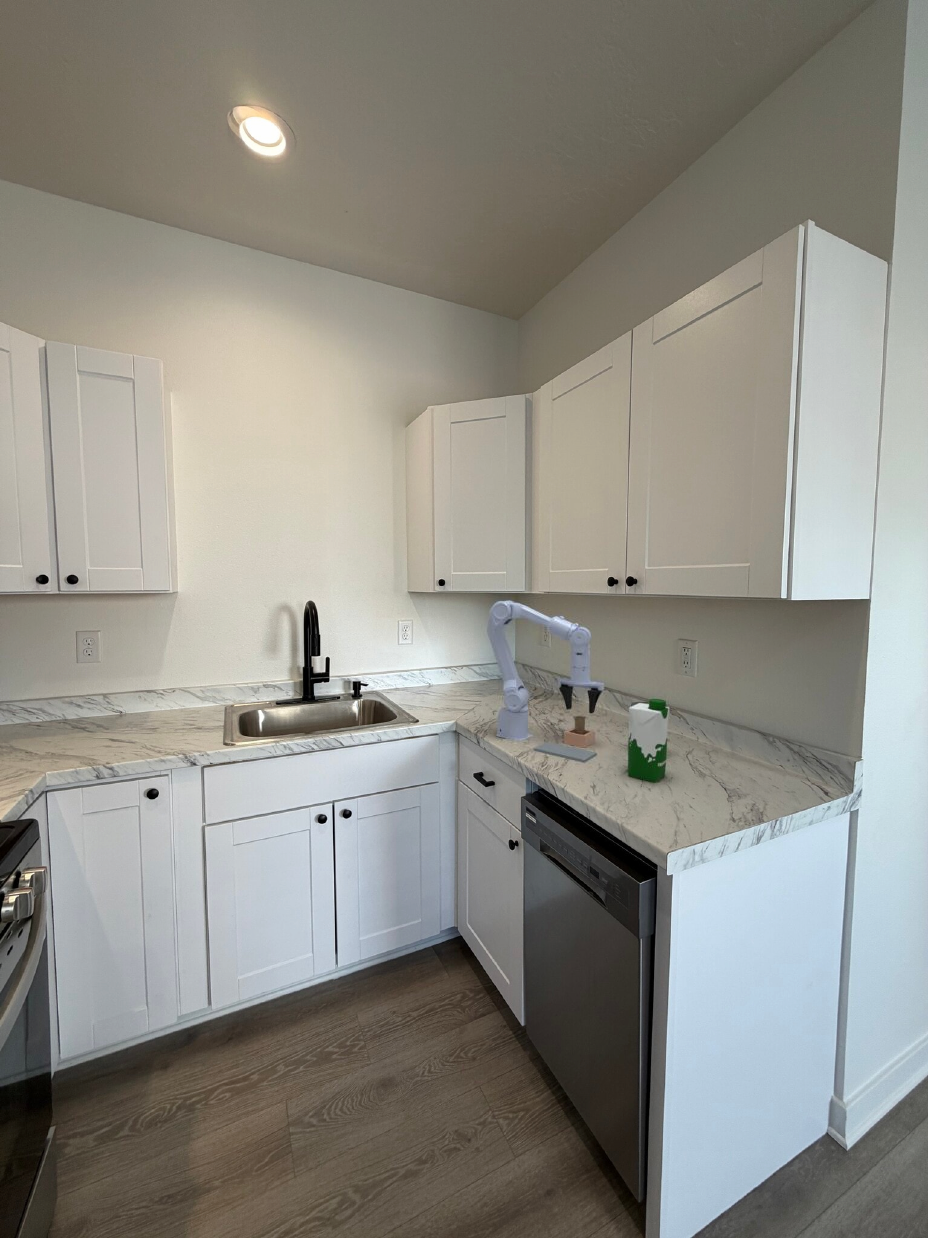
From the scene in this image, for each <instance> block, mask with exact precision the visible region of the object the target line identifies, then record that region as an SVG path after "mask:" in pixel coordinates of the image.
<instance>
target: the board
mask: <svg viewBox="0 0 928 1238" xmlns="http://www.w3.org/2000/svg"><path fill="white" fill-rule="evenodd" d="M533 751H534V752H538V753H542V754H547V755H551V756H555V757H559V758H563V759H567V760H570V761H576V762H580V763H584V764H585V763H586V762H588V761H590V760H591V759H593V758H595V757H597V756H598V755H597V754H598V753H597V752H595V751H590V750H587V749H583V748H582V749H581V748H579V747H578V748H576V747H572V746H568V745H563V744H558V743H555V742H549V741H546V742H544V743H541V744H540V745H538V746H536V747H533Z"/></svg>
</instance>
